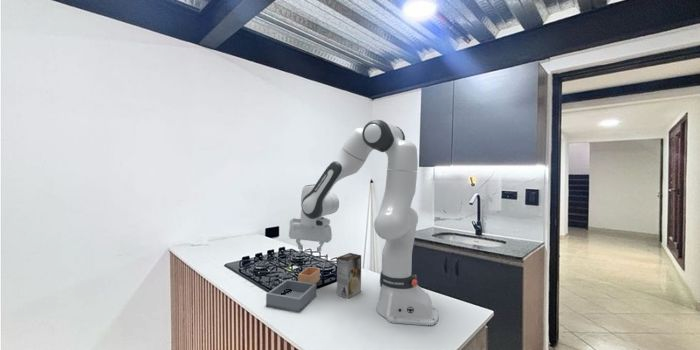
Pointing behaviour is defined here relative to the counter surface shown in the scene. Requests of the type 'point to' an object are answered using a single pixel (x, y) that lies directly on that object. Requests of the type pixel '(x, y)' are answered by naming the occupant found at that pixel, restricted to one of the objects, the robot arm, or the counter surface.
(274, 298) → the grey crate
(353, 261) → the coffee box
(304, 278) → the orange crate
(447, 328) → the counter surface
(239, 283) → the counter surface
